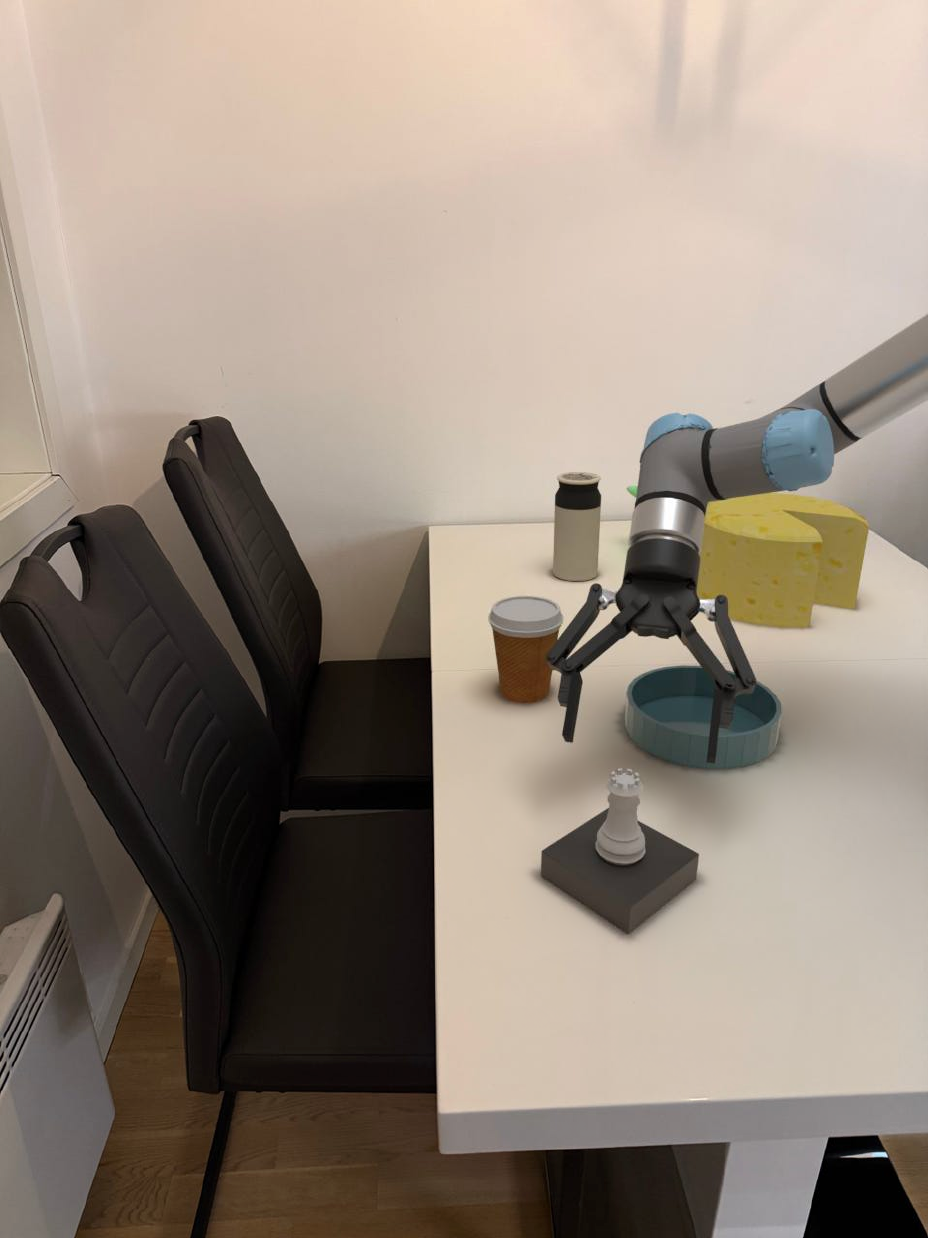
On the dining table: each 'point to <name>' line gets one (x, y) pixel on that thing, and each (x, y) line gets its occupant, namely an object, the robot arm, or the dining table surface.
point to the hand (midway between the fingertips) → (637, 749)
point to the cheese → (781, 557)
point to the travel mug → (577, 526)
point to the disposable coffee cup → (524, 645)
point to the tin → (699, 719)
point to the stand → (619, 874)
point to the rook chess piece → (622, 821)
